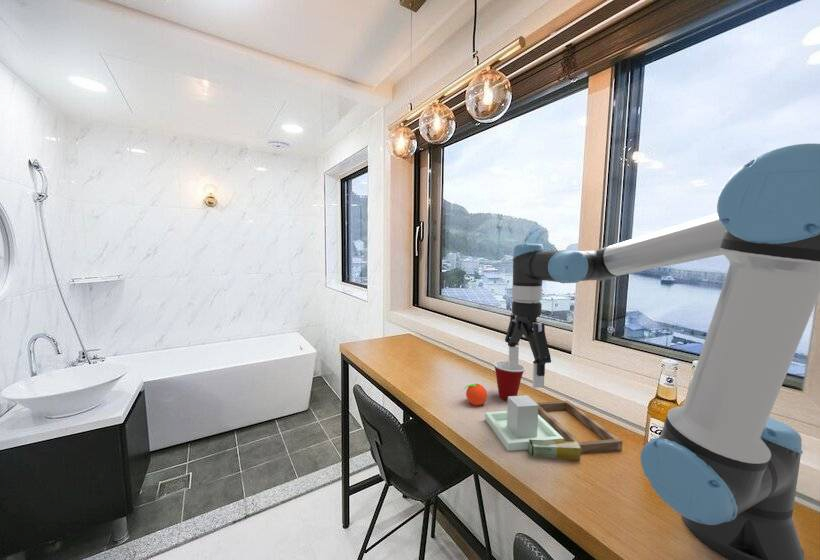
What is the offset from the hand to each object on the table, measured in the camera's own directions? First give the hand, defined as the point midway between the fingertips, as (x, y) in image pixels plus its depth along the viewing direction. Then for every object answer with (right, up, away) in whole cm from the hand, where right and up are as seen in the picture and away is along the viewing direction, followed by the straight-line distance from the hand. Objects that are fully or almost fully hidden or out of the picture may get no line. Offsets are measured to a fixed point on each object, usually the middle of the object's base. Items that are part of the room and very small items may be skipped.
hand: (524, 377), depth 87 cm
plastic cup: (+3, -15, +25) cm, 29 cm away
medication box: (+4, -18, -8) cm, 20 cm away
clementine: (-10, -16, +20) cm, 27 cm away
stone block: (0, -16, +2) cm, 16 cm away
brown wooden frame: (+16, -17, +5) cm, 24 cm away
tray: (0, -17, +2) cm, 17 cm away
